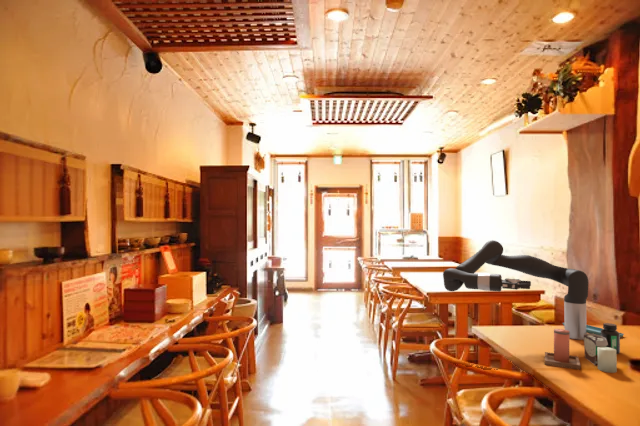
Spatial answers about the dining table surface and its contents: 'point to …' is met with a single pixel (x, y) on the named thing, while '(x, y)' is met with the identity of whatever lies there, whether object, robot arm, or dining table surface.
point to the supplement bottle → (611, 336)
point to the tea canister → (561, 345)
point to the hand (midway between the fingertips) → (530, 285)
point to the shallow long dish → (595, 330)
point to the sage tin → (607, 359)
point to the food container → (593, 346)
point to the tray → (572, 362)
